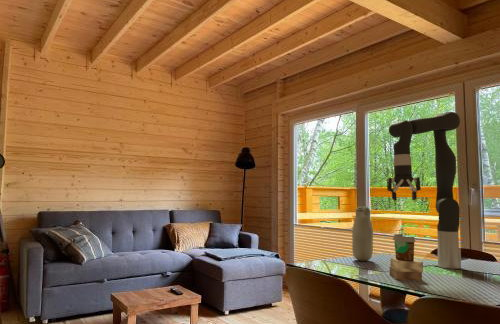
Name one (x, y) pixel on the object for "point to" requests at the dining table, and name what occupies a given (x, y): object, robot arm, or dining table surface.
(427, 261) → the dining table surface
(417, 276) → the walnut slab
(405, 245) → the food container
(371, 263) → the dining table surface
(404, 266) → the birch slab
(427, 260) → the dining table surface
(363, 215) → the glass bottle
